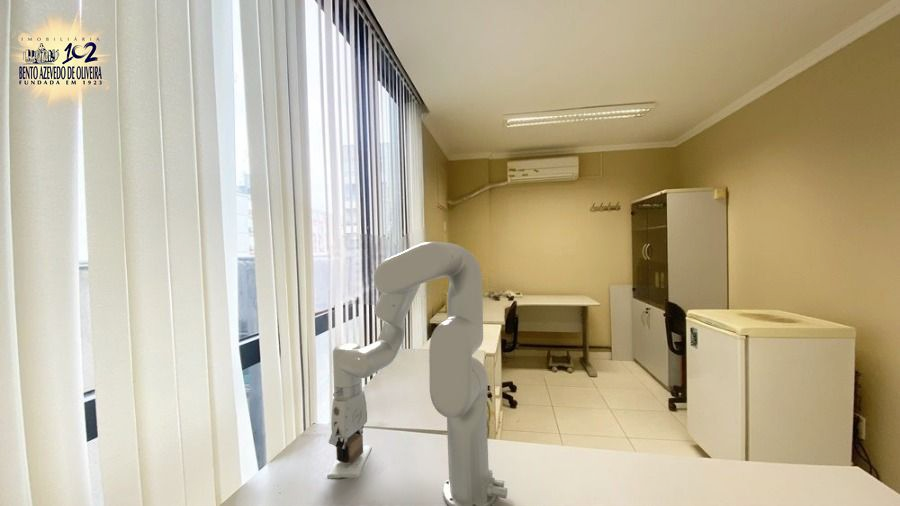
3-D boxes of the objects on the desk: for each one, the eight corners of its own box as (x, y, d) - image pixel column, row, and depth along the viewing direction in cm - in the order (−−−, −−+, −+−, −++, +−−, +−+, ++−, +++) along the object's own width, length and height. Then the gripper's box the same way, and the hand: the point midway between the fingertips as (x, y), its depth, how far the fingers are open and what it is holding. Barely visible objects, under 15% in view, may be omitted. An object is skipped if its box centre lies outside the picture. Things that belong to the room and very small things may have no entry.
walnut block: (363, 452, 89) (362, 434, 90) (351, 463, 85) (350, 444, 85) (348, 449, 91) (348, 432, 91) (336, 459, 87) (336, 441, 87)
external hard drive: (371, 451, 94) (358, 479, 82) (344, 451, 95) (327, 480, 82) (371, 445, 94) (358, 473, 82) (344, 446, 95) (326, 473, 82)
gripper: (337, 404, 79) (339, 478, 79) (377, 379, 95) (379, 440, 95) (314, 400, 82) (316, 471, 82) (356, 377, 98) (358, 436, 97)
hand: (350, 454), depth 88 cm, fingers closed on walnut block, 5 cm apart
